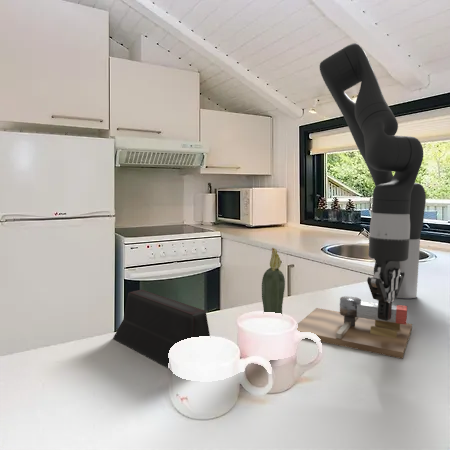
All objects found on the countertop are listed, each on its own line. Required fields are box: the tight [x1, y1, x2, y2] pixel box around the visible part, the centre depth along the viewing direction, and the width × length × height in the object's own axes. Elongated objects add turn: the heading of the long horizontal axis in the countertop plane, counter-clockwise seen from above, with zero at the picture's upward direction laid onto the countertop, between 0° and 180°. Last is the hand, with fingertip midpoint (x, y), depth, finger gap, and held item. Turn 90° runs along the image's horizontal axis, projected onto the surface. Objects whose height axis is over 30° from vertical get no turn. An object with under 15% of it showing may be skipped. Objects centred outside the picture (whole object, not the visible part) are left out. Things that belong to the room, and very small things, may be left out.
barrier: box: [112, 289, 211, 369], centre depth 75 cm, size 24×9×10 cm, turn 46°
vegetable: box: [261, 247, 286, 315], centre depth 74 cm, size 4×4×20 cm
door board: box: [297, 307, 413, 360], centre depth 86 cm, size 18×22×3 cm
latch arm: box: [339, 295, 408, 325], centre depth 85 cm, size 14×4×3 cm, turn 65°
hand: (384, 318), depth 81 cm, fingers closed
